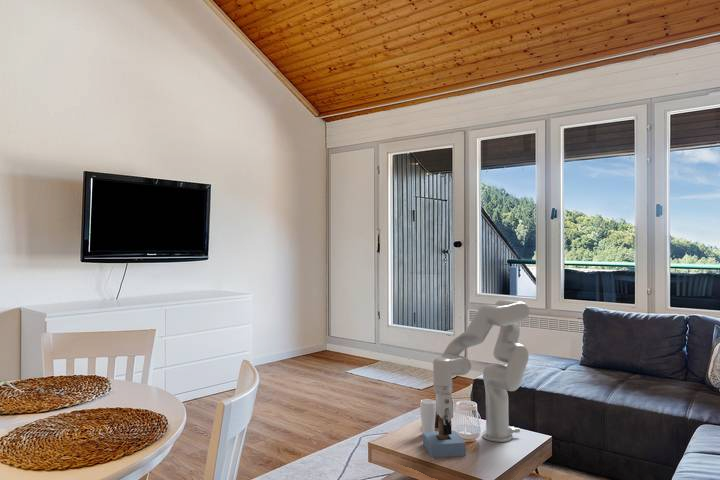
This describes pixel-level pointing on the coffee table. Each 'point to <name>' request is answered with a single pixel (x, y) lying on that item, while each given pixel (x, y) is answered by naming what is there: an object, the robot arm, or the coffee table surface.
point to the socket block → (444, 445)
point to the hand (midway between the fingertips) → (444, 430)
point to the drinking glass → (428, 415)
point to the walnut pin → (441, 429)
